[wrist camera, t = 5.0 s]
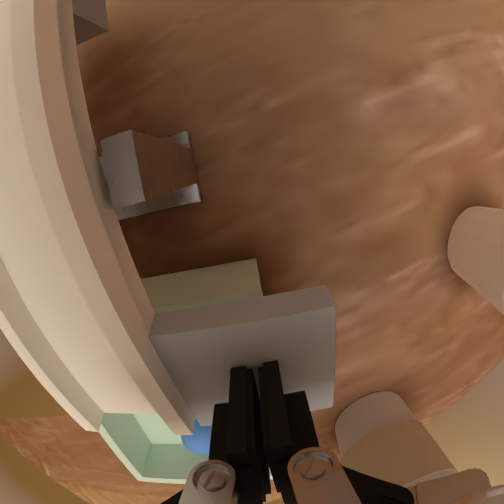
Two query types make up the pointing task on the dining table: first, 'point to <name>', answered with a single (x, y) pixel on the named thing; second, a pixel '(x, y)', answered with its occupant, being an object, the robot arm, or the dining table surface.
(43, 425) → the dining table surface
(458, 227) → the shot glass
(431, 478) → the coffee cup
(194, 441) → the ball
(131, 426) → the bin
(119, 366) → the lever
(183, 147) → the lever stand
